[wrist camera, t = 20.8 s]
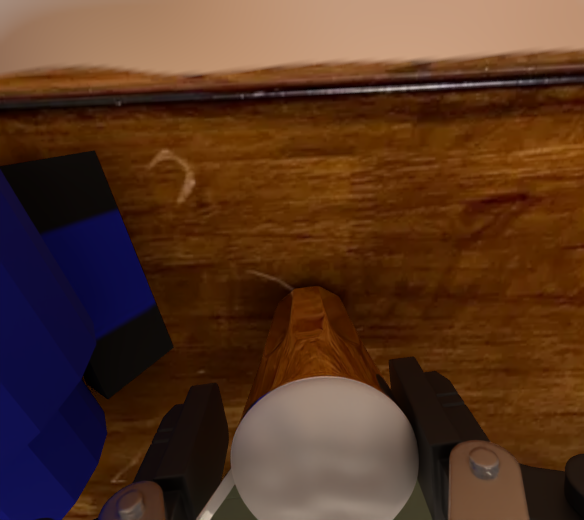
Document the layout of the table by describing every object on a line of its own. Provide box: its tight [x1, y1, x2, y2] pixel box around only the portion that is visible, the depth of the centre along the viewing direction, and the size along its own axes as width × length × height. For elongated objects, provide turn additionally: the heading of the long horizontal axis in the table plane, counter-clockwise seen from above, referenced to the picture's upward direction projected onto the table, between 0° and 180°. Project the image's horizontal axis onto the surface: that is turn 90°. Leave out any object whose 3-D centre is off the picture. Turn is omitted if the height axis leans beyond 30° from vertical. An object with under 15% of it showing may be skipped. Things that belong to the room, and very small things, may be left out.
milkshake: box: [196, 286, 419, 520], centre depth 12 cm, size 5×5×10 cm
